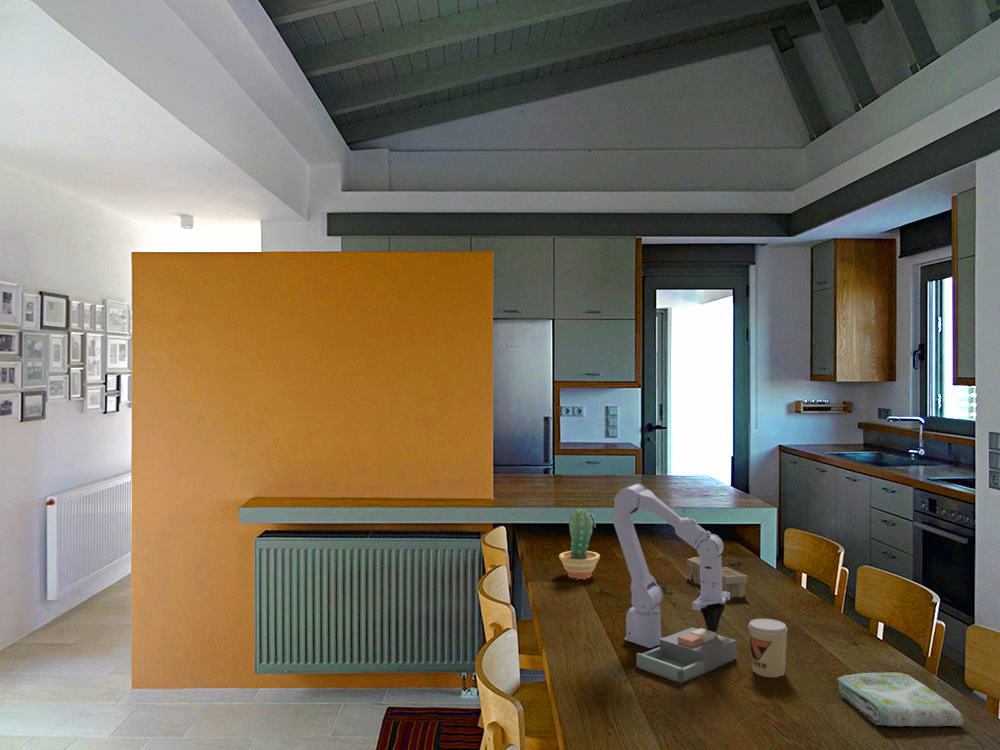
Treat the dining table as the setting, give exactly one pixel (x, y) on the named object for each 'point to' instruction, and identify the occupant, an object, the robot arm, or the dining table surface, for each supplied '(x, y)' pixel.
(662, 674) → the grey-green drawer
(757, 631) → the coffee cup
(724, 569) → the block tower
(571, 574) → the potted cactus
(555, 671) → the dining table surface
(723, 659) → the grey drawer housing
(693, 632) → the cream tile
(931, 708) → the towel
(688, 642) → the terracotta tile
